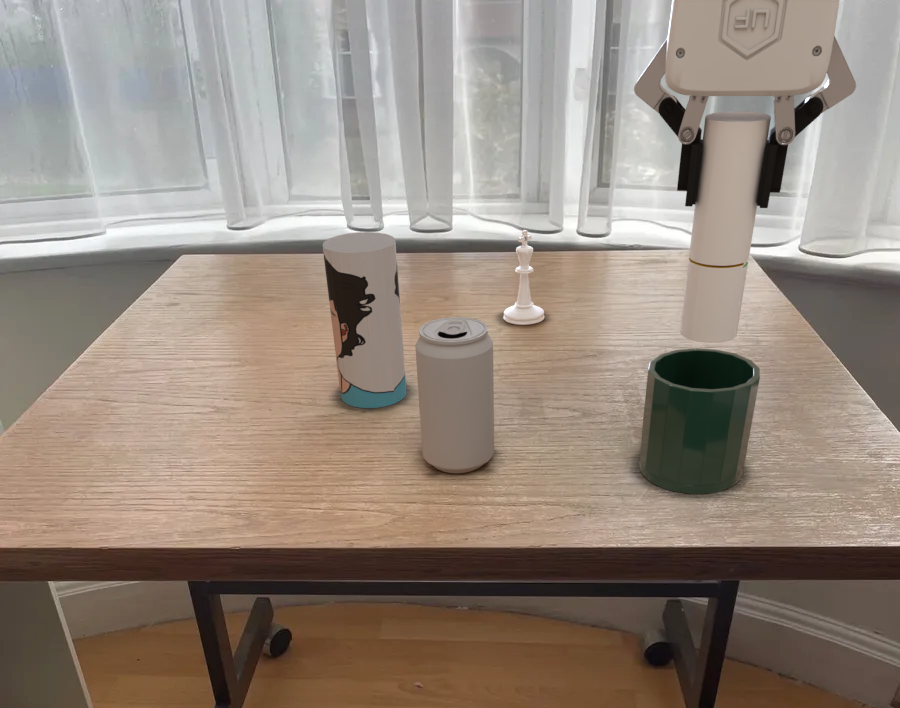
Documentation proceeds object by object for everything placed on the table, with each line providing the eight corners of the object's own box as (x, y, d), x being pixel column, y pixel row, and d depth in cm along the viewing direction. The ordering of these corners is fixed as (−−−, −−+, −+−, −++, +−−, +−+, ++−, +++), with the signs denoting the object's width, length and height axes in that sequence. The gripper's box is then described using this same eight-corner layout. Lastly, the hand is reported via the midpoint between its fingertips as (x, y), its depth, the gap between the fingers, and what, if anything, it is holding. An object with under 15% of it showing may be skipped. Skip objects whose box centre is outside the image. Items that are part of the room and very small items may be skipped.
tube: (713, 347, 68) (745, 124, 58) (668, 332, 70) (692, 117, 61) (748, 332, 70) (783, 115, 61) (703, 318, 72) (731, 109, 63)
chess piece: (494, 318, 108) (494, 231, 102) (523, 307, 111) (524, 222, 105) (524, 328, 105) (525, 239, 99) (553, 317, 108) (555, 229, 102)
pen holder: (742, 449, 79) (759, 351, 74) (741, 498, 73) (760, 395, 67) (643, 441, 81) (653, 345, 76) (634, 488, 75) (644, 387, 69)
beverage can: (417, 476, 78) (407, 342, 71) (428, 441, 83) (421, 313, 76) (490, 478, 77) (488, 342, 70) (497, 443, 82) (496, 314, 75)
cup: (391, 375, 95) (379, 228, 86) (417, 399, 91) (406, 245, 82) (331, 389, 93) (312, 239, 84) (354, 413, 88) (337, 257, 79)
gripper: (621, -119, 52) (601, 213, 63) (935, -137, 48) (856, 219, 59) (633, -116, 58) (613, 188, 69) (915, -132, 54) (846, 192, 65)
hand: (726, 199), depth 64 cm, fingers closed on tube, 4 cm apart
